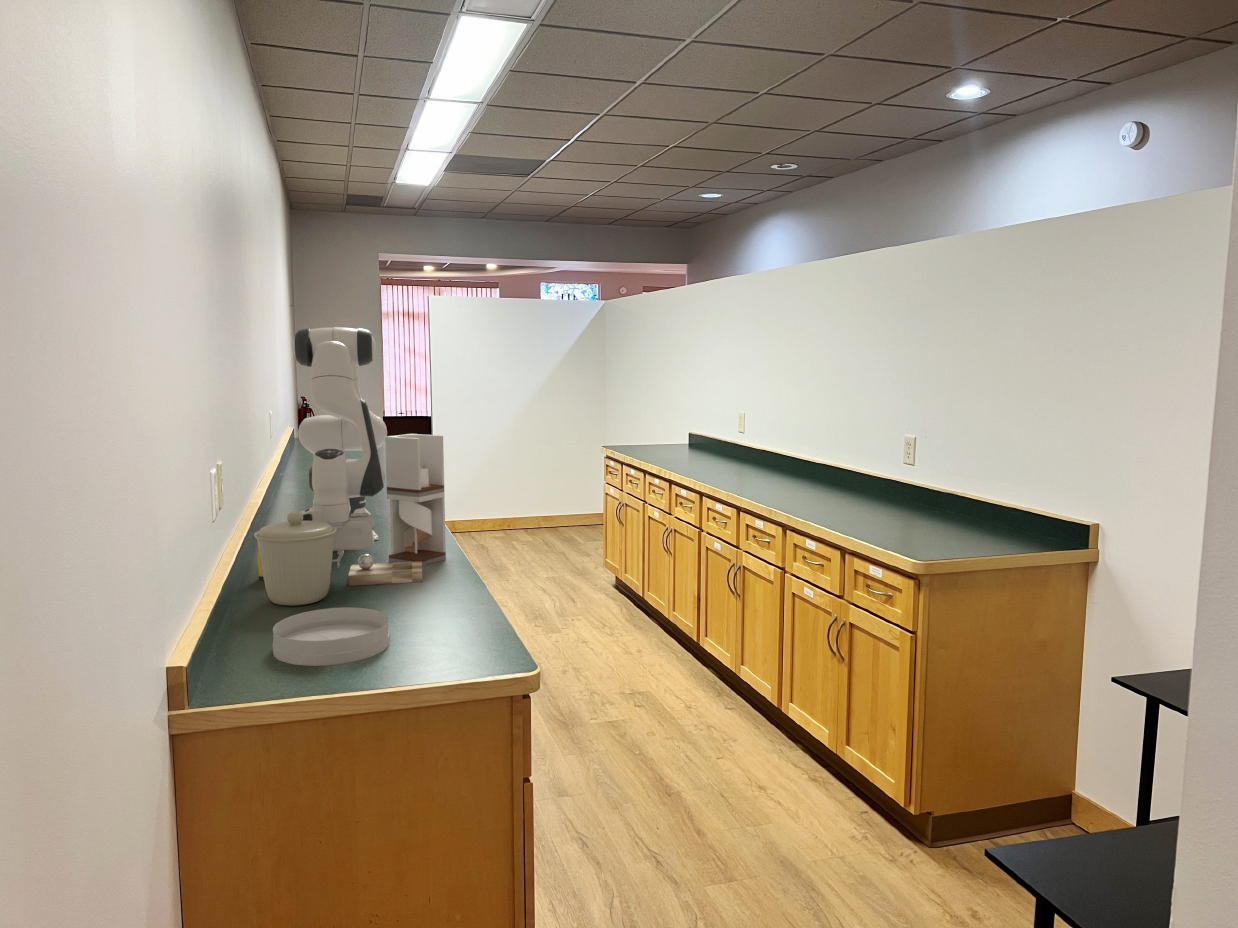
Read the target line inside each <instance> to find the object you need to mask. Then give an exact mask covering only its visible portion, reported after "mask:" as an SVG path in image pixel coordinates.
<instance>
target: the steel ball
mask: <svg viewBox="0 0 1238 928" xmlns="http://www.w3.org/2000/svg"><path fill="white" fill-rule="evenodd" d="M357 564H358V565H359V567H360V568H361V569H364V570H367V569H370V568H371V567H372V566H373V564H375V559H374V557H373V556H372V555H371V554H369V553H363V554H361V555H360V556H359V557H358V559H357Z"/></svg>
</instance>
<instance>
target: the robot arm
mask: <svg viewBox="0 0 1238 928" xmlns="http://www.w3.org/2000/svg"><path fill="white" fill-rule="evenodd" d="M291 347H292V353H293V355H294V357H295V361H296V362H297V363H298V364H300V365H301V366H304V367H307V368H308V367H309V368H311V369H310V394H311V399H312V402H313V404H314V405H315V407H317V408H318V409H319V410H320V411H322V412H323V413H325V414H324V415H323V414H322V415H321V414H320V415H315V416H310V417H306V418H304V419H303V420H302V421H301V423H300V424H299V426H298V427H299V428H298V430H297V437H298V439H299V442H300V444H301V446H303V447H304V448H305V450H307V451H308V452H309V453H311V454H312V455H313V458H312V466H311V467H310V468H309V469H308V481H309V482H308V483H309V490H310V491H312V492H313V500H312V507H310V508H307V509H304V510H301V511H300V510H299V512H300V513H302V515H303V521H320V522H325V523H328V524H329V525H331V526H333V527H335V528H336V529H337V531H336V533H335V534H334V539H333V552H336V551H337V555H338V556H337V558H336V559H332V567H331V569H335V568H337V569H338V568H340V567H341V559H342V557H343V556H344V553H345V551H353V550H354V551H355V550H356V551H357V550H371V549H372V548H373V547H374V545H375V541H378V540H379V535H378V534H377V533H376V532H375V531H374V530H373V529H374V528H375V526H376V524H375V523H376V521H375V517H374V516H373V515H372V514H371V513H370V511H368V510H367V509H366V506H367V498H366V497H374V496H376V495H377V494H379V493H380V492H381V491H382V490H383V488H384V486H385V482H386V479H385V478H386V474H385V471H384V467H383V465H382V462H381V460H380V457H379V452H378V449H379V448H381V447H382V446H383V445H385V437H388V430H387V429H388V428H387V425H386V423H385V421H384V420H383V418H381V417H380V416H377V414H374V413H373V412H372V411H371V410H370V409H369V407H368V405H367V402H366V401H365V399H363V397H362V393H361V388H360V376H359V375H360V374H359V367H363V366H366V365H369V364H370V363H372V362H373V360H374V358H375V355H376V352H377V344H376V339H375V338H374V336H373V333H372V332H371V331H370V330H368V329H365V328H361V327H358V328H352V327H341V326H333V327H318V328H310V327H308V328H302V329H299V330H297V332H296V333H294V338H293V340H292V346H291ZM346 451H349V452H350V451H351V452H353V451H354V452H355V451H357V452H358V451H360V452H362V457H360V458H347V457H346V453H345V452H346Z"/></svg>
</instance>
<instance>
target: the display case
mask: <svg viewBox="0 0 1238 928" xmlns="http://www.w3.org/2000/svg"><path fill="white" fill-rule="evenodd" d="M384 446H385V447H384V448H385V478H386V479H385V482H386V500H389V515H390V516H389V517H390V544H391V547H390V548H391V549H390V550H391V554H388V563H397V562H417V561H422V567H424V566H427V565H430V564H434V563H437V562H441V561H444V560H446V559H447V558H446V557H447V553H446V552H447V551H446V549H447V548H446V508H445V504H446V503H445V499H446V498H445V466H444V463H445V462H444V461H445V460H444V457H445V456H444V435H441V434H440V435H439V434H438V435H437V434H418V433H406V434H399V435H387V437H385V442H384Z"/></svg>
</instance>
